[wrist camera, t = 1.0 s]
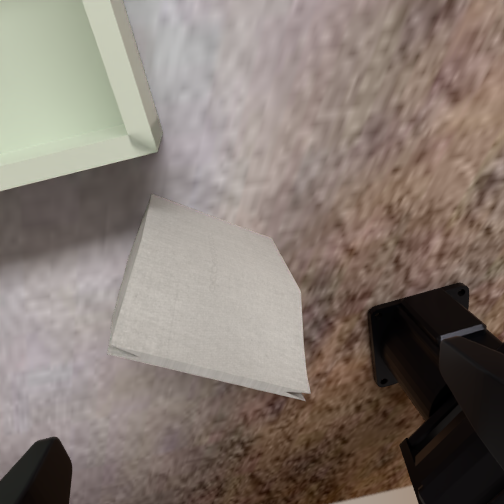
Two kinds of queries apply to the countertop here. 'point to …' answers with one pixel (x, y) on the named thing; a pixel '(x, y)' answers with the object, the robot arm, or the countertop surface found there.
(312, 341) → the countertop surface
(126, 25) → the box
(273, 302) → the tea bag
